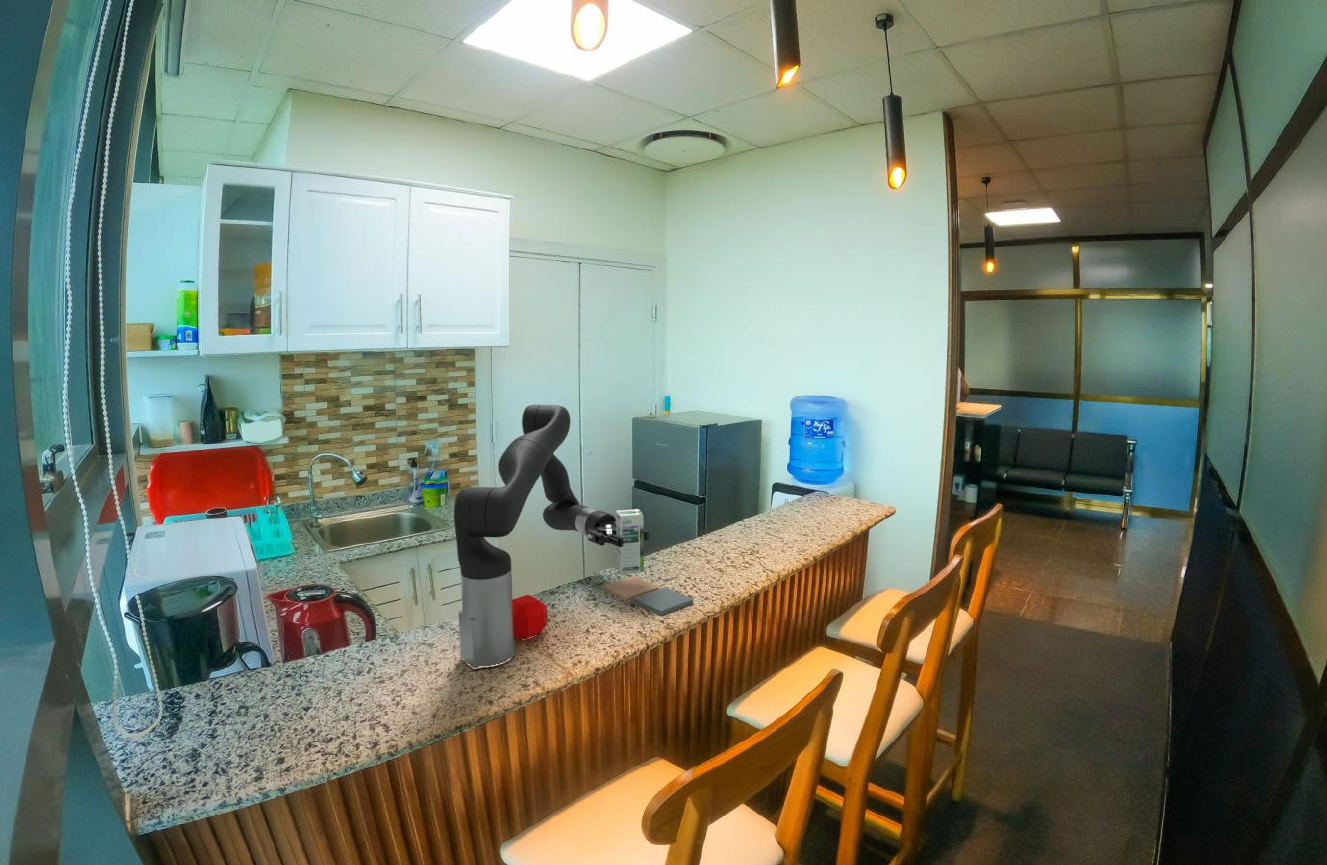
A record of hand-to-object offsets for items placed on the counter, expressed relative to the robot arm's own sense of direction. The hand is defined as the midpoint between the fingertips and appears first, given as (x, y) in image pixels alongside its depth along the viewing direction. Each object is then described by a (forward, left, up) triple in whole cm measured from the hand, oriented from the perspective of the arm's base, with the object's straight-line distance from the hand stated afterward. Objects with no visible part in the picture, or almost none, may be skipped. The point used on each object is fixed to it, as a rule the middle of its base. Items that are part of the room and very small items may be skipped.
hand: (635, 539), depth 150 cm
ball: (-31, -2, -14) cm, 34 cm away
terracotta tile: (0, +2, -13) cm, 13 cm away
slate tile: (+1, -9, -13) cm, 16 cm away
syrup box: (0, +2, -8) cm, 9 cm away
